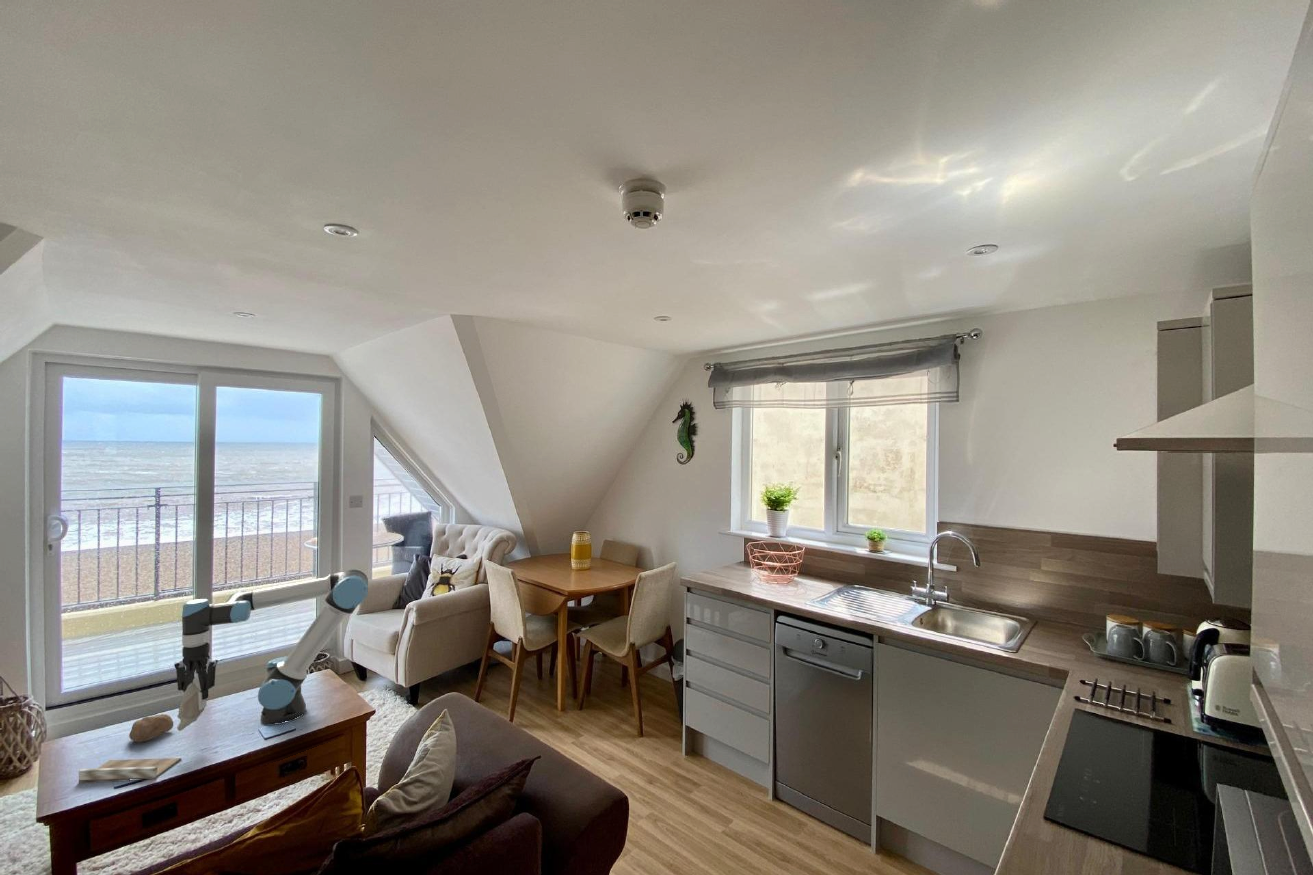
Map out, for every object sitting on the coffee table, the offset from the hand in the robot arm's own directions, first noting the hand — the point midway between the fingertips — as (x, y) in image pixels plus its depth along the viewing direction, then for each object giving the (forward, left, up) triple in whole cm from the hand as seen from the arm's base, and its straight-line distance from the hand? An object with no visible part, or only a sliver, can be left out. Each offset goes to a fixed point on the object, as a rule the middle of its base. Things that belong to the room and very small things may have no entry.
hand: (196, 708), depth 197 cm
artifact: (0, +2, -5) cm, 6 cm away
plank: (+10, +14, -15) cm, 23 cm away
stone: (+26, -9, -15) cm, 31 cm away
